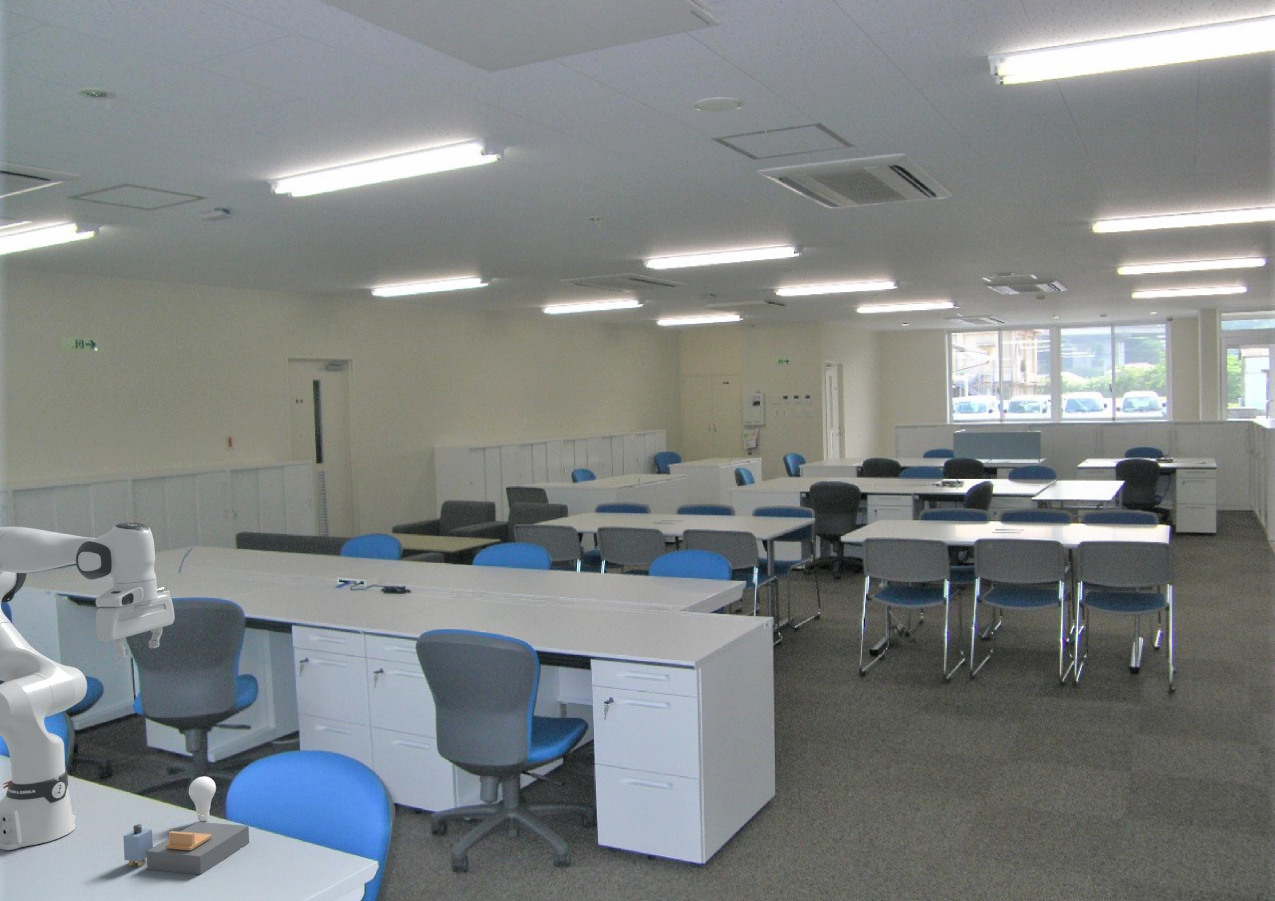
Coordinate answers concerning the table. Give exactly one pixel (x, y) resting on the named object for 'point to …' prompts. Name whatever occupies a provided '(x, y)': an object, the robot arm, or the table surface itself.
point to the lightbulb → (202, 795)
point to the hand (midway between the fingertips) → (138, 652)
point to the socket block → (199, 849)
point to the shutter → (186, 840)
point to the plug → (137, 845)
